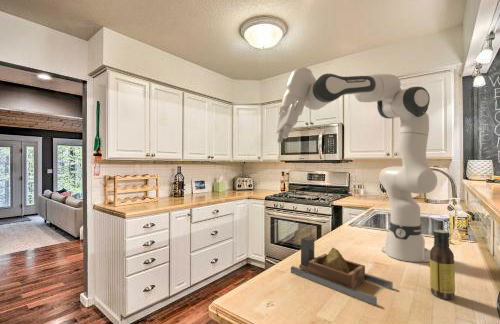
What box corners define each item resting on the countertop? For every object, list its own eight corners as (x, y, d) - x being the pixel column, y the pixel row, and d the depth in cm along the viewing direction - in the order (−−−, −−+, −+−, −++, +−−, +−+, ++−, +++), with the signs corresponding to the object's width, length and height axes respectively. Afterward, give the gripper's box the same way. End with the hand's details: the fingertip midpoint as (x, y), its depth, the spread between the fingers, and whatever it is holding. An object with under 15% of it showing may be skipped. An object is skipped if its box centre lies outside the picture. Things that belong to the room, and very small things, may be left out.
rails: (312, 261, 106) (313, 256, 106) (392, 288, 85) (392, 282, 85) (290, 272, 96) (290, 266, 96) (375, 305, 74) (375, 298, 74)
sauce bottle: (457, 296, 80) (458, 232, 80) (450, 302, 76) (451, 235, 76) (433, 287, 85) (434, 227, 85) (425, 293, 81) (426, 230, 81)
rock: (362, 276, 88) (344, 261, 97) (350, 259, 85) (334, 245, 95) (337, 297, 87) (322, 280, 96) (325, 280, 84) (311, 264, 94)
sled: (311, 262, 105) (311, 234, 105) (364, 280, 90) (365, 247, 89) (294, 270, 97) (294, 240, 97) (349, 291, 82) (350, 256, 81)
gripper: (307, 100, 91) (296, 137, 89) (292, 116, 111) (283, 147, 110) (290, 95, 91) (279, 131, 89) (279, 112, 111) (269, 142, 109)
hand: (281, 140), depth 100 cm, fingers open, 8 cm apart
